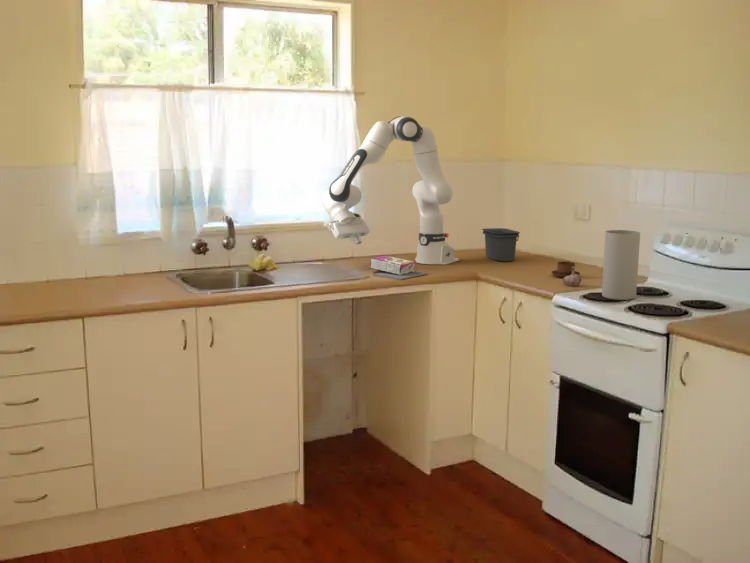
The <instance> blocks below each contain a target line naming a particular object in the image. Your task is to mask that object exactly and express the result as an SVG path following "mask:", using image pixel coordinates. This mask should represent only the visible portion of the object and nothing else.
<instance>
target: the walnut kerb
mask: <svg viewBox="0 0 750 563" xmlns="http://www.w3.org/2000/svg"><path fill="white" fill-rule="evenodd" d="M381 272H384V271H380V270H376V269H374V270H372V275H373V274H375V273H381Z"/></svg>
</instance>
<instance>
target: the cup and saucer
mask: <svg viewBox="0 0 750 563" xmlns="http://www.w3.org/2000/svg"><path fill="white" fill-rule="evenodd" d="M556 265H557V269H555V270H552V271H551V274H552V275H553V276H555V277H557V278H561V279H564V277H566V276H569V275H572V267H575V266H576V263H575V262H572V261H558V262H557V264H556ZM575 274H577V275H579V276H581V275H580V274H581V273H580V272H579V271H576V270H575Z"/></svg>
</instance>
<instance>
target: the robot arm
mask: <svg viewBox="0 0 750 563" xmlns="http://www.w3.org/2000/svg"><path fill="white" fill-rule="evenodd" d="M394 140H398V141H402V142H410V143H411V145H412V150H413V156H414V162H415V169H416V172H418V174H419V175H420V177H421V180H419V181H416V182H415V183H414V185H413V187H412V196H413V198H414V199H415V201H416V203H417V204H416V205H417V208H418V209H417V210H418V213H419V233H418V241H419V242H418V244H417V249H416V257H415V258H414V260H415V263H418V264H422V265H449V264H453V263H455V262H458V261H460V259H459V258H458V257H456V256H455V250H454V247H453V246H452V245H450V244H449V243H448V241H446V238H449V236H450V234H449V233H446V232H445V233H444V215H443V214H442V212H441V209H440V206H441V205H445V204H447V203H450V202H451V200H452V198H453V195H454V192H453V188H452V186H451V185H450V184H449V183H448V181H447V179H446V176H445V174H444V172H443V170H442V168H441V167H442V166H441V164H440V158H439V152H438V145H437V142H436V139H435V135H434V133H433V130H432V129H431V128H429V127H425V126H423V127H422V126H421V125H420V124H419V122H418V121H417V120H416V119H415V118H413V117H411V116H408V115H401V116H396V117H394V118H392V119H391V120H390V121H388V122H387V121H384V120H378V121H377V122H375V123H374V124H373V125H372V127H371V129H370V130H369V131H368V133H367V134H366V136H365V138H364V140H363V142H362V144H361V145H360V147H359V148H358V149H357V150H356V151H355V152H354V153H353V155H352V156H351V157H350V159H348V162H347V163H346V164H345V166H344V168H343V169H342V171H341V172H340V174H339V175H338V176H337V178H335V179H334V180H333V181H332V182H331V183H330V185H329V187H328V189H327V190H325V191H324V192H323V194H322V196H321V203H322V205H323V207H324V209H325V211H326V212H327V214H328V215H330V217H331V221H330V222H329V223H328V225H329V227H330V230H331V232H332V235H333V236H334V238H335V239H336V240H343V239H349V240H350V241H352V242H353V243H354V244H355V245H361V244H362V242H363V240H361V237H366V236H367V235H368V234H369V233H370V228H369V226H368V224H367V223H366V222H365V221H364V219H362V215H361V214H360V213H356V212H352V211H350V209H351V208H353V207H355V206H356V205H358V204H359V203H360V201H361V199H362V192H361V189H360V188H359V187H357V186H356V185H354V184H353V183H352V182H353V181H354V180H355V178H356V177H357V175H358V174H359V172H360V170H361V169H362V168H363V167H365V166H367V165H370V164H371V165H373V164H376V163H378V162H380V161H381V159H383V157H384V156H385V153H386V152H387V150H388V148H389V146H390V144H391V143H392V142H393V141H394Z"/></svg>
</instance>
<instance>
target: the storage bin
mask: <svg viewBox="0 0 750 563" xmlns="http://www.w3.org/2000/svg"><path fill="white" fill-rule="evenodd" d="M481 231H482V235H484V240H485V241H484V242H485V243H484V244H485V257H486V258H488V259H491V260H494V261H498V262H513V261H515V257H516V247H517V241H519V238H520V233H521V232H520V231H518V230H514V229H509V228H505V227H504V228H502V227H501V228H498V227H497V228H493V227H492V228H482V229H481Z"/></svg>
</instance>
